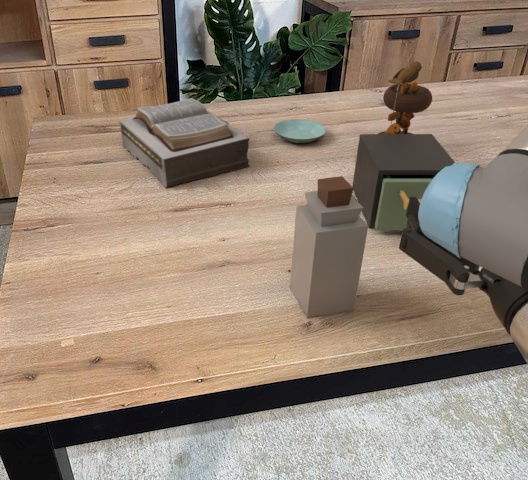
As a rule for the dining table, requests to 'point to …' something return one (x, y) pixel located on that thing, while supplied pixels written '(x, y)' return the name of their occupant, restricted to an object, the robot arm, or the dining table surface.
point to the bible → (183, 142)
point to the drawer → (398, 199)
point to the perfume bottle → (328, 249)
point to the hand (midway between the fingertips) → (465, 206)
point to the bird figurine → (405, 99)
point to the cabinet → (393, 164)
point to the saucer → (299, 130)
